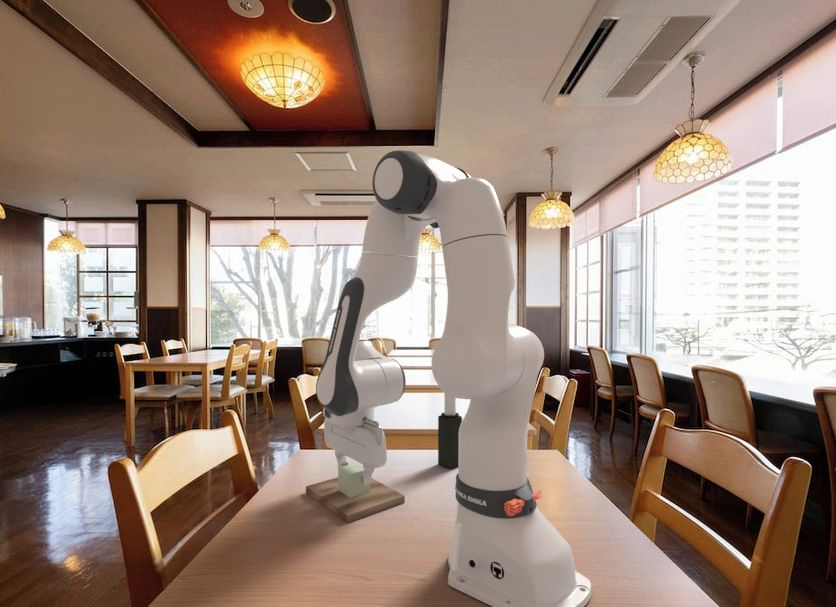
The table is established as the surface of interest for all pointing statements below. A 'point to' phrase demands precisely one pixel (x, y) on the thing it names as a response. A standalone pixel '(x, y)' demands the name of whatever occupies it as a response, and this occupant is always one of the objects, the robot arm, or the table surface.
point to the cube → (352, 480)
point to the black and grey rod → (448, 434)
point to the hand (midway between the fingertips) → (354, 476)
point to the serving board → (354, 499)
